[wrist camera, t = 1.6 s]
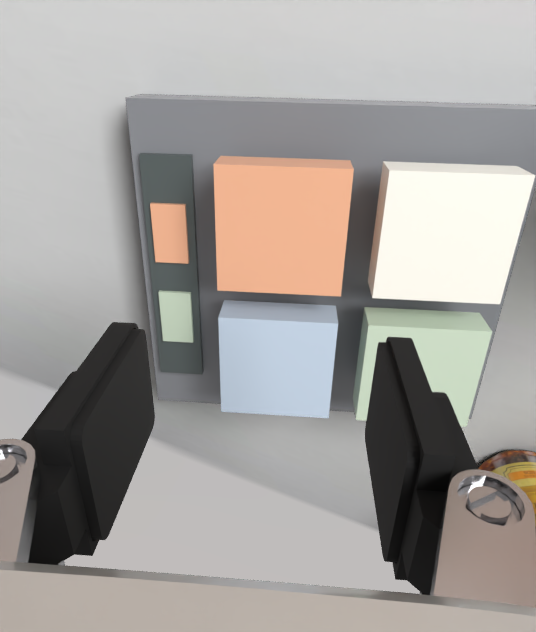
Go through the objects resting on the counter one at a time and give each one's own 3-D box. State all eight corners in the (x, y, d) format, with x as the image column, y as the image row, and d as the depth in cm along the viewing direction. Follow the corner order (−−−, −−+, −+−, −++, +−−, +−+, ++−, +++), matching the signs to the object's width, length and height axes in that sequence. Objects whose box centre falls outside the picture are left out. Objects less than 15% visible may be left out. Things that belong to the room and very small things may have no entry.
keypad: (534, 105, 24) (563, 111, 22) (459, 394, 33) (473, 425, 30) (141, 94, 25) (121, 98, 23) (167, 377, 34) (155, 405, 31)
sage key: (479, 312, 26) (492, 331, 24) (456, 403, 28) (466, 426, 27) (364, 306, 26) (368, 325, 24) (352, 397, 29) (355, 419, 27)
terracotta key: (350, 160, 22) (353, 168, 21) (338, 279, 25) (340, 296, 23) (220, 155, 23) (213, 164, 21) (223, 274, 26) (217, 290, 24)
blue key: (335, 305, 26) (338, 323, 24) (327, 396, 29) (328, 418, 27) (224, 300, 26) (218, 317, 24) (226, 390, 29) (221, 411, 27)
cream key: (517, 165, 22) (535, 175, 20) (486, 286, 25) (499, 304, 23) (382, 161, 22) (389, 170, 21) (367, 281, 25) (372, 298, 23)
